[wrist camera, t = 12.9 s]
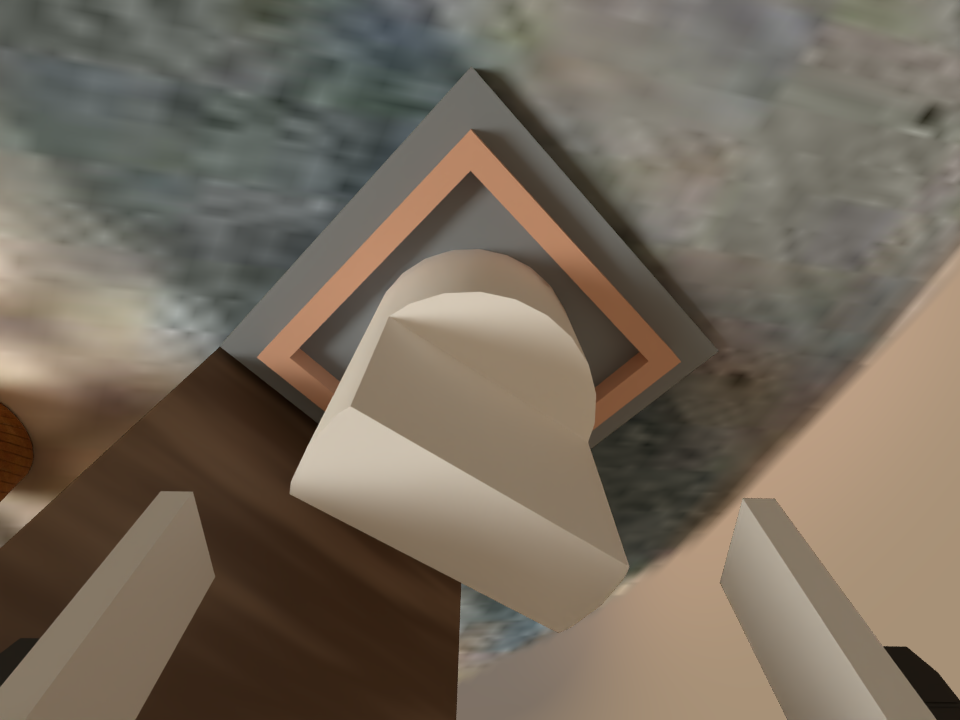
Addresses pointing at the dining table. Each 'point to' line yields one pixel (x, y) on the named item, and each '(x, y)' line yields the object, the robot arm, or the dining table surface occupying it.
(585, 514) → the cylinder with rectangular tab
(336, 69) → the dining table surface
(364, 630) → the brown wooden panel
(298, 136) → the dining table surface
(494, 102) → the square coaster tray
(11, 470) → the disposable coffee cup
